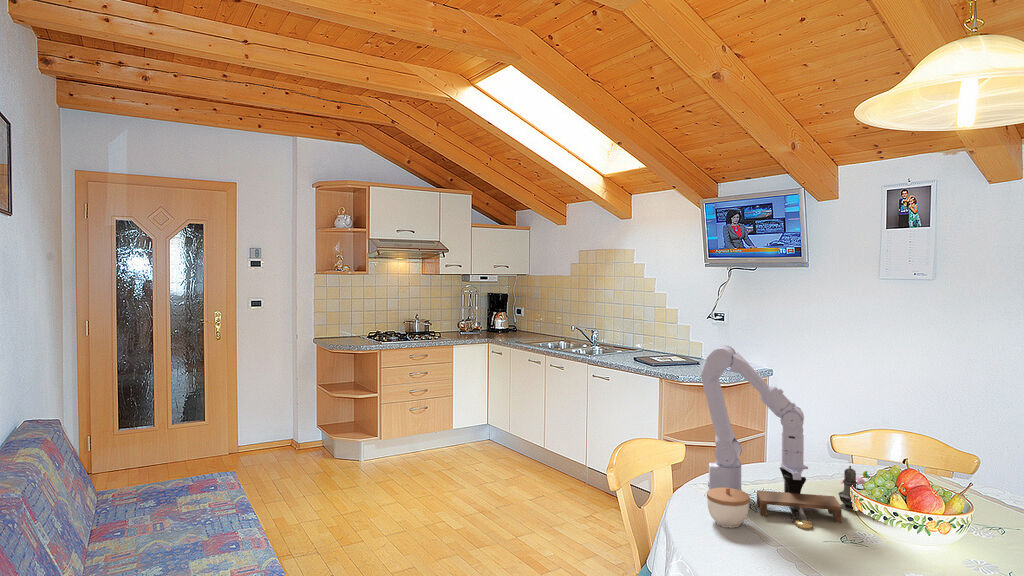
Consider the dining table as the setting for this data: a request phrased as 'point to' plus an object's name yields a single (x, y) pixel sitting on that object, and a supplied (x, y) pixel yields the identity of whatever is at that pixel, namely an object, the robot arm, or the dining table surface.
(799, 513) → the scraper tool
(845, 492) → the salt shaker
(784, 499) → the low shelf
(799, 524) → the brass token
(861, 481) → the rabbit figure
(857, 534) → the dining table surface
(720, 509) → the lidded jar
